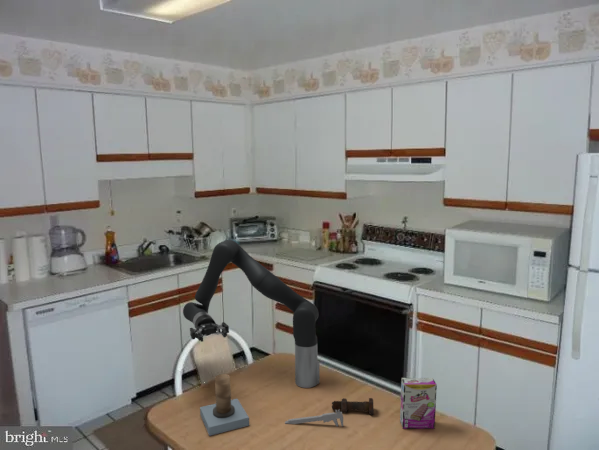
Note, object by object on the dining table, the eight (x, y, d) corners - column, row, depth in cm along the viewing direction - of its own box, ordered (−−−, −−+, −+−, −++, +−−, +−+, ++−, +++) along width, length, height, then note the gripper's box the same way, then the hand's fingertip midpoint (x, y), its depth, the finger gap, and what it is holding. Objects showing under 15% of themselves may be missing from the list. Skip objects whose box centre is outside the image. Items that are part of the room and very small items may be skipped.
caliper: (343, 425, 156) (343, 408, 155) (343, 427, 155) (343, 410, 154) (285, 422, 158) (284, 406, 158) (284, 424, 157) (284, 407, 156)
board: (237, 405, 169) (237, 398, 169) (249, 425, 157) (249, 417, 156) (200, 414, 163) (199, 407, 163) (209, 435, 151) (208, 427, 150)
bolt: (332, 413, 167) (373, 415, 165) (331, 413, 162) (373, 415, 160) (332, 396, 169) (373, 398, 167) (331, 396, 164) (373, 397, 162)
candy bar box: (402, 429, 153) (403, 384, 151) (399, 421, 158) (400, 377, 156) (435, 429, 153) (437, 384, 151) (431, 421, 158) (433, 377, 156)
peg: (231, 412, 165) (230, 370, 163) (237, 422, 158) (236, 379, 156) (211, 417, 162) (209, 375, 160) (216, 428, 155) (214, 384, 153)
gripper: (185, 317, 178) (193, 330, 163) (220, 311, 183) (232, 323, 169) (186, 335, 179) (195, 350, 164) (221, 329, 184) (233, 343, 170)
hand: (213, 337), depth 166 cm, fingers open, 8 cm apart
